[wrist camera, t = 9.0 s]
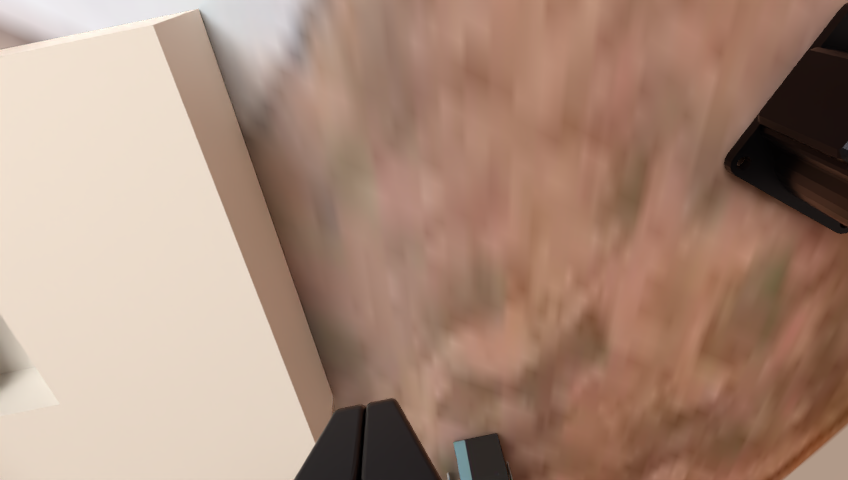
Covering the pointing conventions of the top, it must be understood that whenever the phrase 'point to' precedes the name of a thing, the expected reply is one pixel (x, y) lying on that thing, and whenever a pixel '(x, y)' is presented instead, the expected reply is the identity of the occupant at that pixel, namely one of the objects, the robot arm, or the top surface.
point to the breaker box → (142, 271)
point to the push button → (481, 459)
